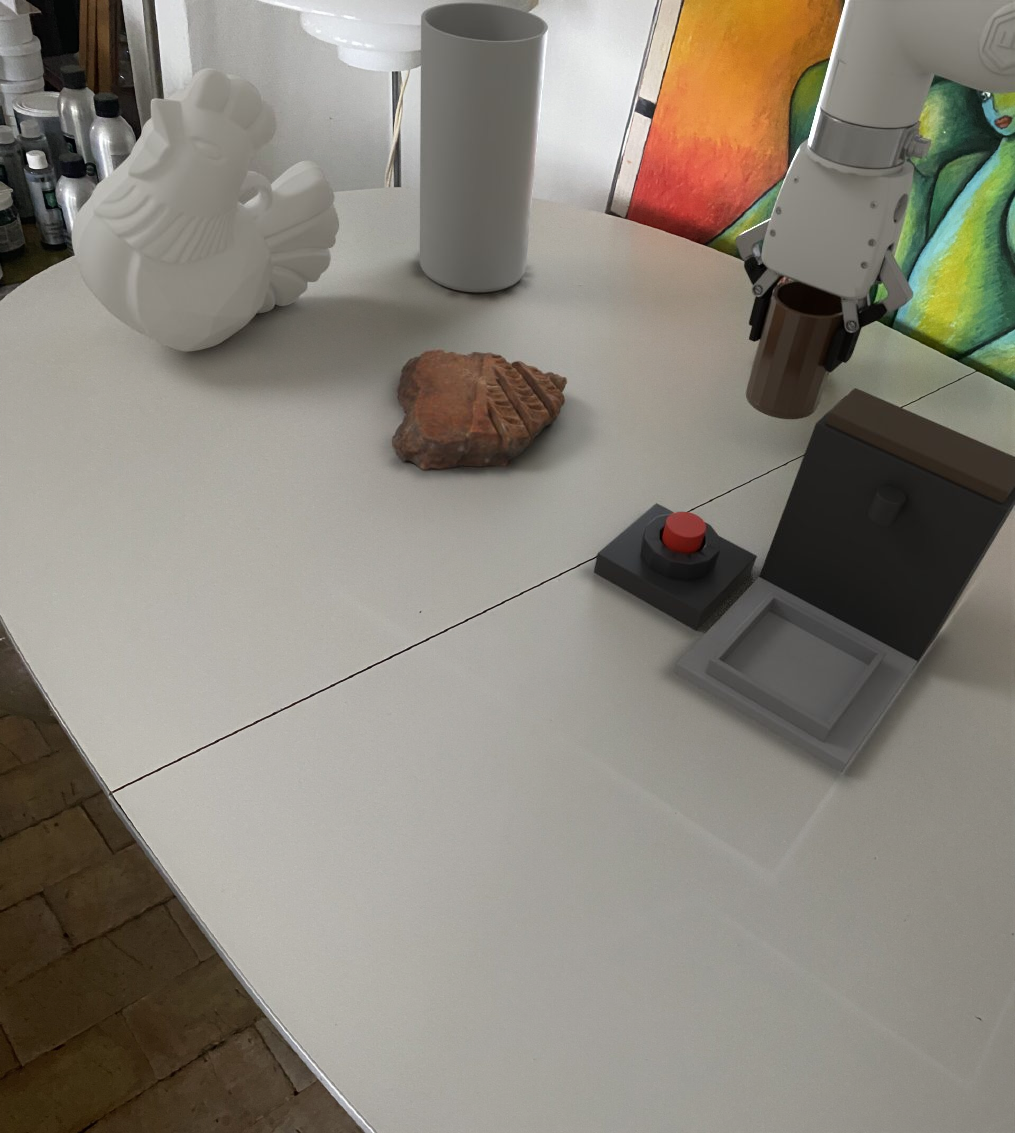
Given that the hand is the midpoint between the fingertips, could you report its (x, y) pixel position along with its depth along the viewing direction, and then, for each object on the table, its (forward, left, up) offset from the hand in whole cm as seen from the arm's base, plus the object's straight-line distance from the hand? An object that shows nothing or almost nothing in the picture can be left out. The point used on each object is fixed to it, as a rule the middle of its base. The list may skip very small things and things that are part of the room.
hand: (796, 349), depth 86 cm
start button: (-3, +23, -6) cm, 24 cm away
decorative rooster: (+52, +23, -10) cm, 57 cm away
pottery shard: (+23, +17, -10) cm, 30 cm away
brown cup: (0, 0, -5) cm, 5 cm away
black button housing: (-3, +23, -10) cm, 25 cm away
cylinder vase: (+43, -6, -10) cm, 44 cm away
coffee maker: (-16, +24, -10) cm, 30 cm away
